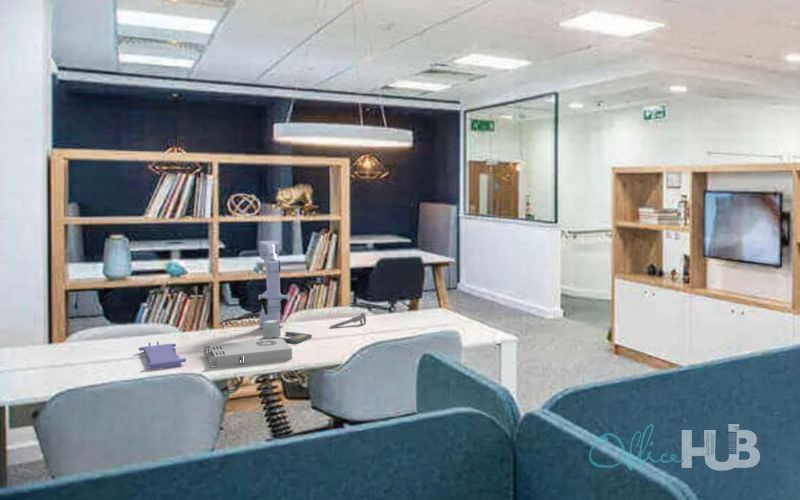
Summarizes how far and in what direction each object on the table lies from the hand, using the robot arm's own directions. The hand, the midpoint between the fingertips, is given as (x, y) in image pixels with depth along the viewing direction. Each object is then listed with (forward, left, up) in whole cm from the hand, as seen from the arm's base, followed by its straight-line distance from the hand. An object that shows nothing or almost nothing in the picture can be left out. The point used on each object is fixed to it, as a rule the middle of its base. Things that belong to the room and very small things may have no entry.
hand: (274, 314), depth 305 cm
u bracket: (+13, -4, -9) cm, 16 cm away
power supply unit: (+13, -37, -10) cm, 40 cm away
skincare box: (+1, -4, -10) cm, 11 cm away
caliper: (+23, +30, -10) cm, 39 cm away
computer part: (-18, -53, -10) cm, 57 cm away
